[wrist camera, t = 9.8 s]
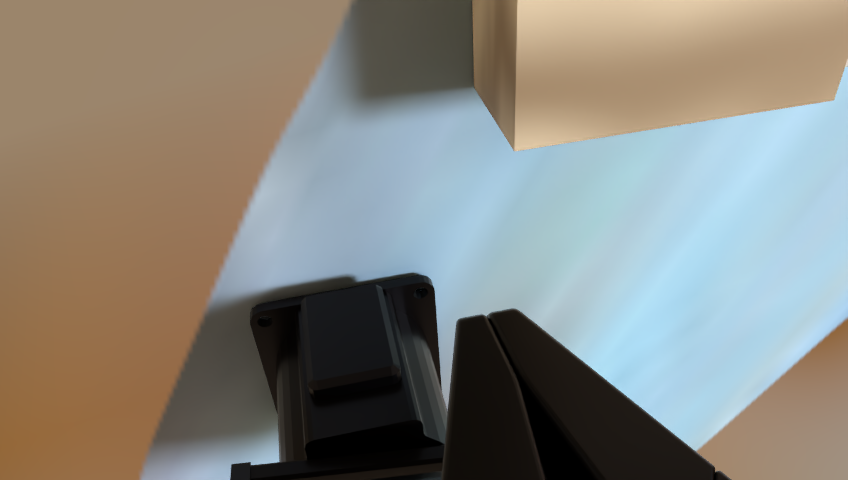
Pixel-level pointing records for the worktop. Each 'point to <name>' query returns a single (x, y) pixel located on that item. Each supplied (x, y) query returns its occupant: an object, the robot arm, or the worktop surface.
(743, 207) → the worktop surface
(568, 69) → the board
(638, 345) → the worktop surface
